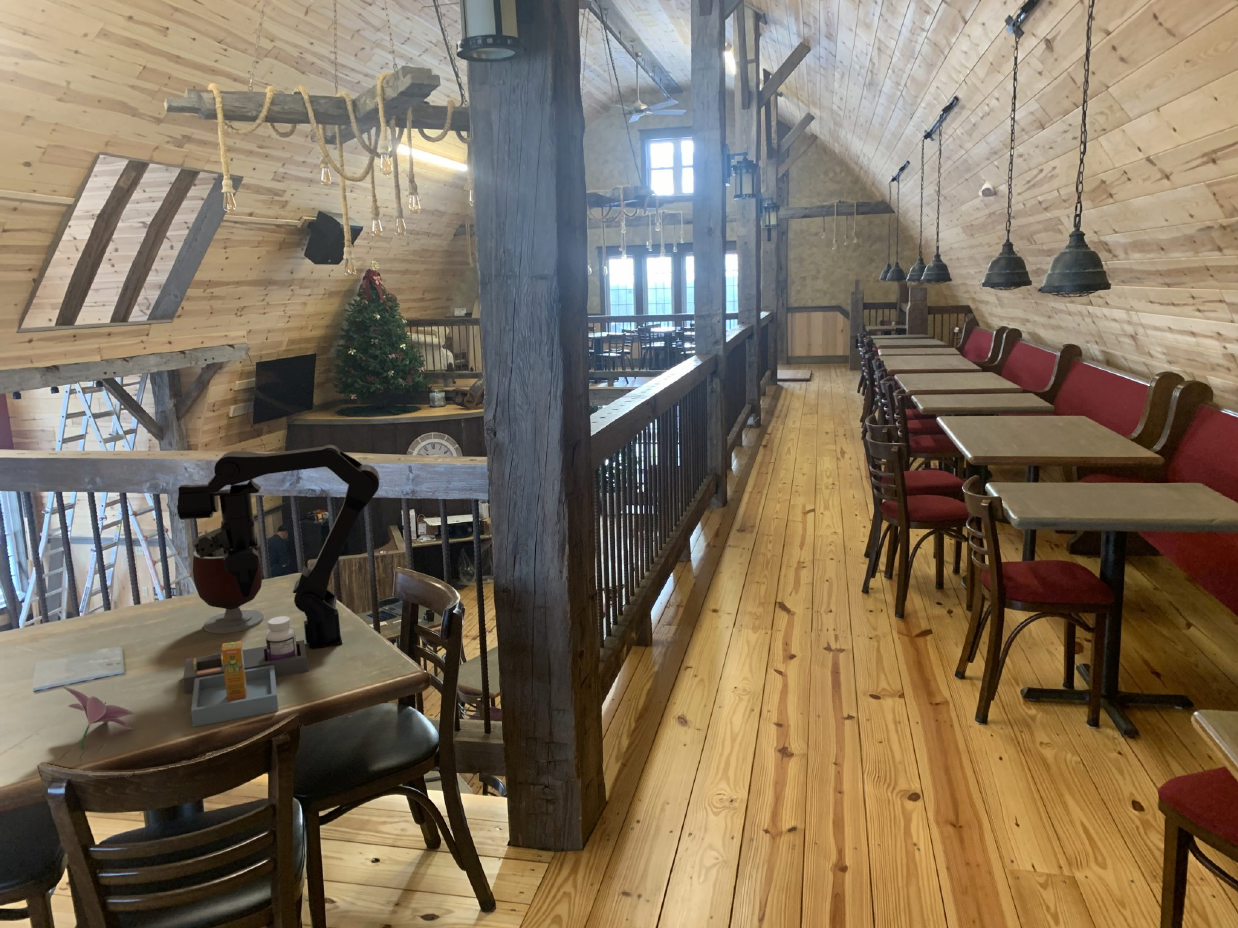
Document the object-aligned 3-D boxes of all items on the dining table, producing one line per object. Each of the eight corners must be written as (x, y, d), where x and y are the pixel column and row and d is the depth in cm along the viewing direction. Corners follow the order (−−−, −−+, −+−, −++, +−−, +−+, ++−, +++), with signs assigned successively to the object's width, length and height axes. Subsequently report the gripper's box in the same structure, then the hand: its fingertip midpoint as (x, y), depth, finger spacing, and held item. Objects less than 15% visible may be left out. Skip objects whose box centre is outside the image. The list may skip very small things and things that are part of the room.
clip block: (305, 653, 180) (303, 634, 179) (308, 671, 172) (306, 651, 171) (187, 673, 172) (185, 653, 171) (185, 693, 164) (182, 672, 163)
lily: (140, 750, 146) (152, 690, 149) (60, 749, 138) (73, 685, 141) (115, 749, 154) (127, 692, 157) (38, 747, 146) (51, 687, 149)
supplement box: (226, 702, 157) (220, 649, 155) (228, 694, 161) (221, 642, 159) (246, 699, 159) (240, 646, 156) (247, 691, 162) (241, 639, 160)
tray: (275, 679, 168) (274, 664, 168) (278, 710, 156) (276, 694, 156) (196, 693, 163) (194, 678, 163) (193, 726, 151) (191, 710, 150)
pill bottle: (273, 661, 177) (268, 615, 175) (301, 660, 177) (296, 614, 175) (265, 673, 171) (260, 625, 169) (294, 671, 172) (289, 624, 170)
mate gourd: (279, 620, 198) (270, 534, 194) (218, 639, 188) (207, 549, 184) (245, 605, 208) (236, 523, 204) (185, 622, 198) (174, 536, 194)
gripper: (195, 509, 182) (204, 581, 185) (190, 532, 165) (200, 611, 168) (253, 503, 186) (261, 574, 190) (254, 524, 169) (263, 602, 173)
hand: (245, 589), depth 180 cm, fingers open, 9 cm apart
